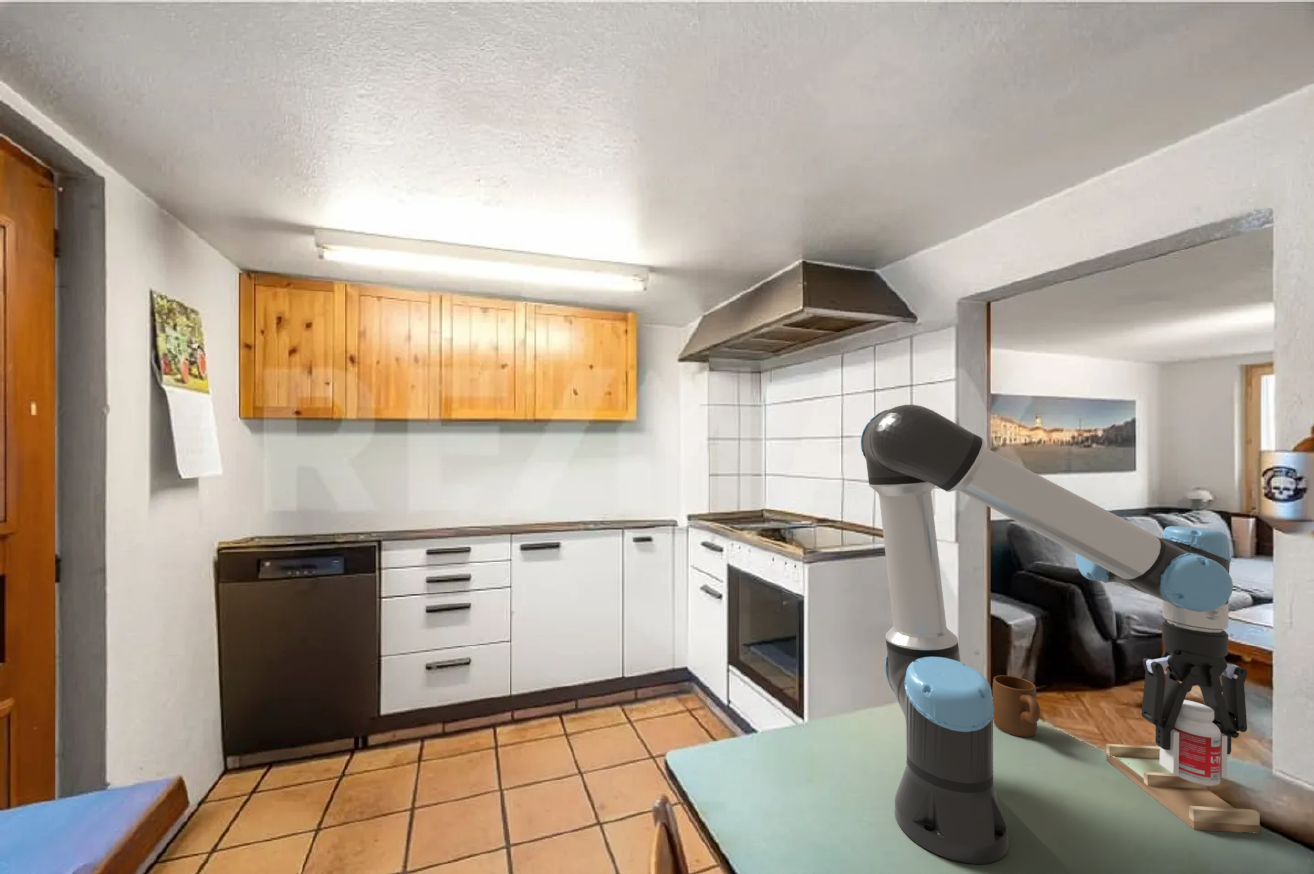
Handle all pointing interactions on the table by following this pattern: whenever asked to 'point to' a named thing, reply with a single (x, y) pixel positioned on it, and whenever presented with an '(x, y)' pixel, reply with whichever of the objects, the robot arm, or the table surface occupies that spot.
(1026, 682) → the mug
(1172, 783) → the notch board
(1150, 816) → the table surface
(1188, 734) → the pill bottle
